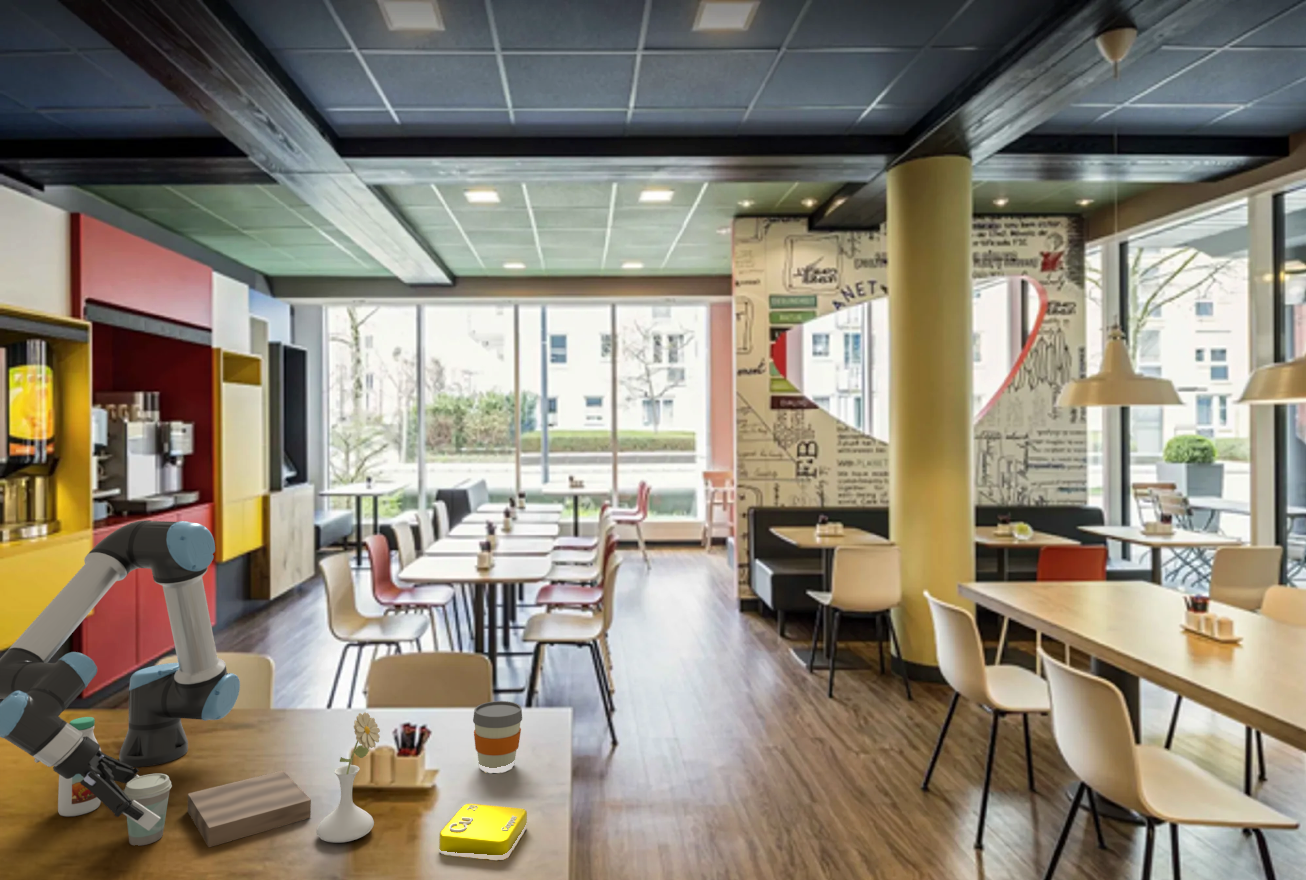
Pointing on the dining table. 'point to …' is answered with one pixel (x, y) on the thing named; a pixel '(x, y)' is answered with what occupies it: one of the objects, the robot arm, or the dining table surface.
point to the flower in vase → (347, 816)
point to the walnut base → (247, 807)
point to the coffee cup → (148, 805)
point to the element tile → (483, 829)
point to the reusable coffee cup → (497, 732)
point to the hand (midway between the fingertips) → (155, 810)
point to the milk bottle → (77, 781)
